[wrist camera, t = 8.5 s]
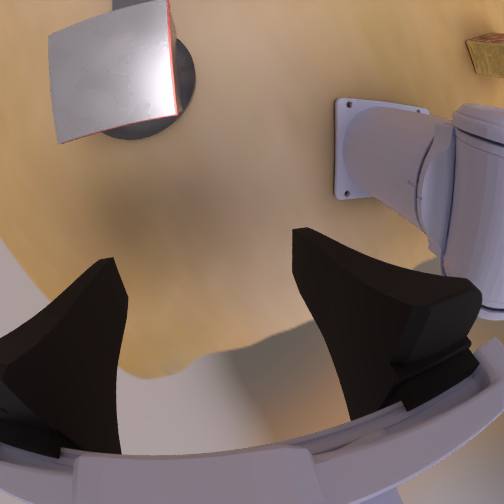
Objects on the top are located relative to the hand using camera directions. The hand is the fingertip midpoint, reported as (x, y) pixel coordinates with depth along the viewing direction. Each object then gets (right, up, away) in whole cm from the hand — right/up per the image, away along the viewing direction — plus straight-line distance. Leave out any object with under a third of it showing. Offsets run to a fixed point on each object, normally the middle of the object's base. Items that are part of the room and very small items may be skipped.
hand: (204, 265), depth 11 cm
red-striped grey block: (-5, +10, +2) cm, 12 cm away
